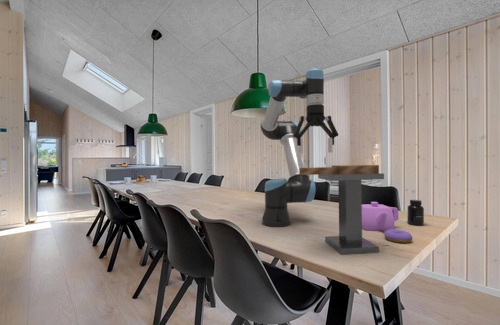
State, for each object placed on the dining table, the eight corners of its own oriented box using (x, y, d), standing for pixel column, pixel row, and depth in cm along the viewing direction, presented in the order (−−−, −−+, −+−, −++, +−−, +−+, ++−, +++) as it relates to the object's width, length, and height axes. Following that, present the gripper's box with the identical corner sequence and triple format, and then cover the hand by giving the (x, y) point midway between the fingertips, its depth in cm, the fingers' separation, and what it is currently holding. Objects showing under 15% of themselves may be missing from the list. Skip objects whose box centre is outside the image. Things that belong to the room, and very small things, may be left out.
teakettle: (400, 227, 120) (400, 201, 120) (386, 235, 109) (385, 206, 109) (365, 221, 133) (364, 198, 133) (349, 227, 122) (348, 202, 122)
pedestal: (333, 255, 87) (332, 175, 87) (318, 241, 101) (317, 173, 101) (386, 251, 89) (385, 173, 89) (364, 239, 103) (364, 171, 103)
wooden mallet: (304, 175, 88) (304, 167, 88) (297, 174, 97) (297, 166, 97) (378, 173, 91) (378, 165, 91) (365, 172, 100) (364, 164, 100)
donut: (381, 240, 101) (382, 228, 102) (386, 239, 108) (386, 227, 109) (410, 245, 95) (410, 232, 95) (413, 243, 102) (414, 231, 102)
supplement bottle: (419, 226, 120) (418, 201, 120) (404, 223, 126) (404, 200, 126) (426, 224, 123) (426, 200, 123) (412, 221, 129) (412, 198, 129)
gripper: (290, 103, 106) (290, 153, 107) (345, 103, 109) (346, 152, 109) (285, 106, 114) (286, 153, 114) (338, 106, 116) (338, 152, 117)
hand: (315, 152), depth 112 cm, fingers open, 13 cm apart
